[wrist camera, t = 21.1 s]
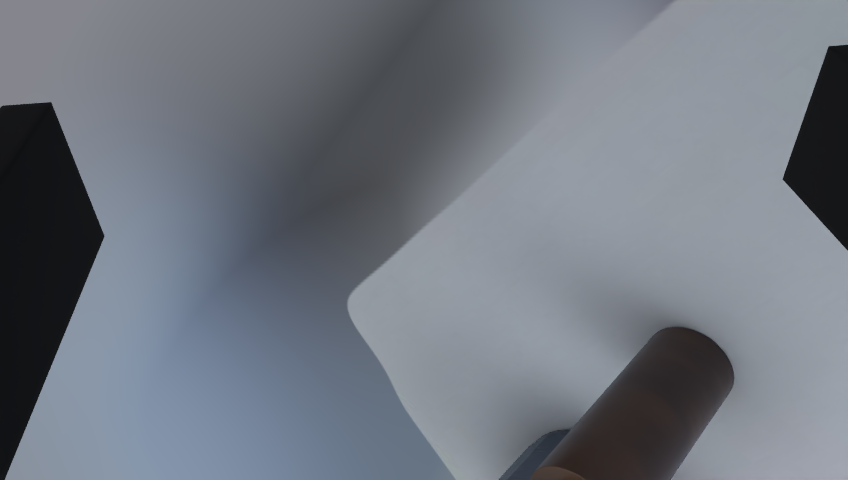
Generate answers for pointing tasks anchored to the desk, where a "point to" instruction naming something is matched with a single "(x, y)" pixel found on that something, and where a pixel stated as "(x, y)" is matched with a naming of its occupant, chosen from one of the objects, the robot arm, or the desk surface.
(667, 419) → the pepper mill
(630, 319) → the desk surface
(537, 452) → the pot
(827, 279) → the desk surface
